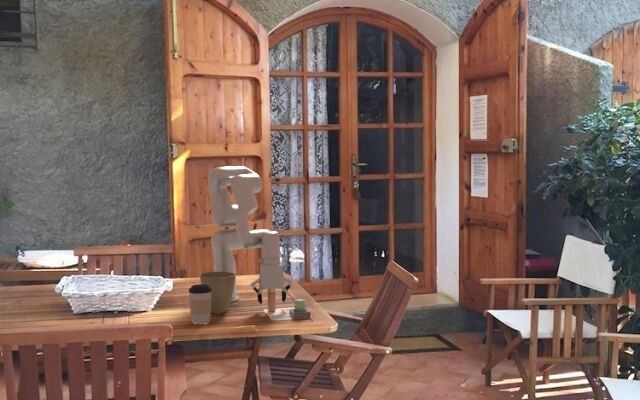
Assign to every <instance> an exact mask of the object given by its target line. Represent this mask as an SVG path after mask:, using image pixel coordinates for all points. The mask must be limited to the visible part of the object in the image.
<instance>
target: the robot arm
mask: <svg viewBox="0 0 640 400" xmlns="http://www.w3.org/2000/svg"><path fill="white" fill-rule="evenodd" d="M263 183H264V182H263V180H262V178H261V176H260V175H259V174H258V173H256V172H254V171H252V170H251V169H249V168H247V167H246V166H243V165H242V166H241V165H238V166H237V165H235V166H231V165H230V166H229V165H227V166H218V167H213V168H212V169H211V170H210V171H209V173H208V177H207V185H208V189H209V193H210V198H211V210H212V211H211V212H212V221H213V224H214V226H216V227H218V228H219V227H220V228H221V227H222V228H225V227H233V228H228V229H227V228H226V229H220V230H216V231H215V232H213V233H212V234H211V238H210V244H211V248H212V249H211V250H212V255H213V269H214V270H213V272H216V271H224V272H232V273H235V274H236V275H237V273H236V259H235V257H234V255H233V253H232V252H231V251H236V250H243V249H245V250H246V249H247V250H249V249H250V250H251V249H257V248H258V249H260V248H261V258H258V261H257V262H258V263H261V264H260V266H259V273H258V279H255V280H254V281H252V282H251V283H250V286H251V288H252V290H253V291H255V293H257V302H258V303H259V304H260V305H262V304H263V294H262V292H263V291H265V290H266V291H268V290H269V289H275V290H279V289H280V290H282V291H281V301H282V302H283V303H285V302H286V300H287V292H288V290H289V289H290V288H291V286H292V283H293V280H291V279H288V278H286V277H285V271H284V265H283V264H282V263H281V244H280V242H281V241H280V240H281V239H280V233H279V232H278V231H276V230H275V231H274V230H270V229H266V228H264V229H262V228H261V229H253V230H251V229H250V230H249V218H248V217H249V215H250V214H253V213H254V212H255V211H257V210H258V208H259V203H258V200H257V198H256V197H257V196H256V195H255V194H258V193H261V192H262V190H263V186H264V184H263ZM226 186H229V187H230V189H231V192H232V195H233V196H234V200H235V203H236V204H232V199H231V194H230V191H228V189H227V188H226ZM236 278H237V277H236ZM236 278H235V284H234V290H233V294H232V298H231V302H230V303H233V302H237V301H239V300H240V295H237V286H236V285H237V284H236V283H237V279H236ZM285 282H286V283H287V284H286V283H285ZM285 284H286V286H285ZM256 285H258V288H257V287H256Z"/></svg>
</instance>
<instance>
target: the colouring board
mask: <svg viewBox="0 0 640 400" xmlns="http://www.w3.org/2000/svg"><path fill="white" fill-rule="evenodd" d="M289 309H294V306H293V307H281V308H280V307H278V308H276V311H275V312H268V308H267V309H266V308H265V309H263V312H264V313H265V314H266V315H267V316H268V317H269V318H270V320H271V321H272V322H273V321H284V320H285V321H287V320H294V319H293V318H292V317H291V316H290V310H289ZM312 318H313V317H312V316H311V318H310V319H312ZM299 319H301V320H302V318H299ZM299 319H298V320H299Z"/></svg>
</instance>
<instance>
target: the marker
mask: <svg viewBox="0 0 640 400" xmlns="http://www.w3.org/2000/svg"><path fill="white" fill-rule="evenodd" d="M276 302H277V301H276V289H269V290H267V309H268V312H275V311H276V309H277V308H276V306H277V305H276Z"/></svg>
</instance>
